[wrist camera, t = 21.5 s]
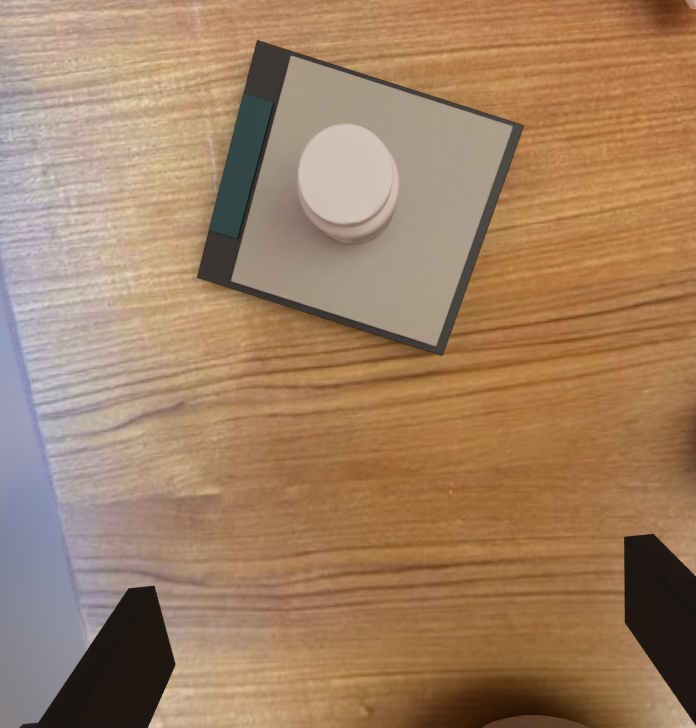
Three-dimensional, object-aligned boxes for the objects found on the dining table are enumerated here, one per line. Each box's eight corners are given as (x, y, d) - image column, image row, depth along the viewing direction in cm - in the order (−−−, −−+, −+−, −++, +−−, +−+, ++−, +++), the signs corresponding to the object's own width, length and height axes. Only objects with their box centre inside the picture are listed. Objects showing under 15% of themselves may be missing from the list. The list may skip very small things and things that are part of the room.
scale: (209, 277, 33) (192, 277, 30) (265, 58, 30) (253, 32, 27) (437, 350, 33) (444, 358, 30) (512, 137, 30) (528, 120, 27)
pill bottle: (296, 191, 29) (264, 156, 20) (366, 143, 28) (362, 85, 20) (341, 262, 29) (328, 255, 21) (410, 216, 28) (425, 190, 20)
